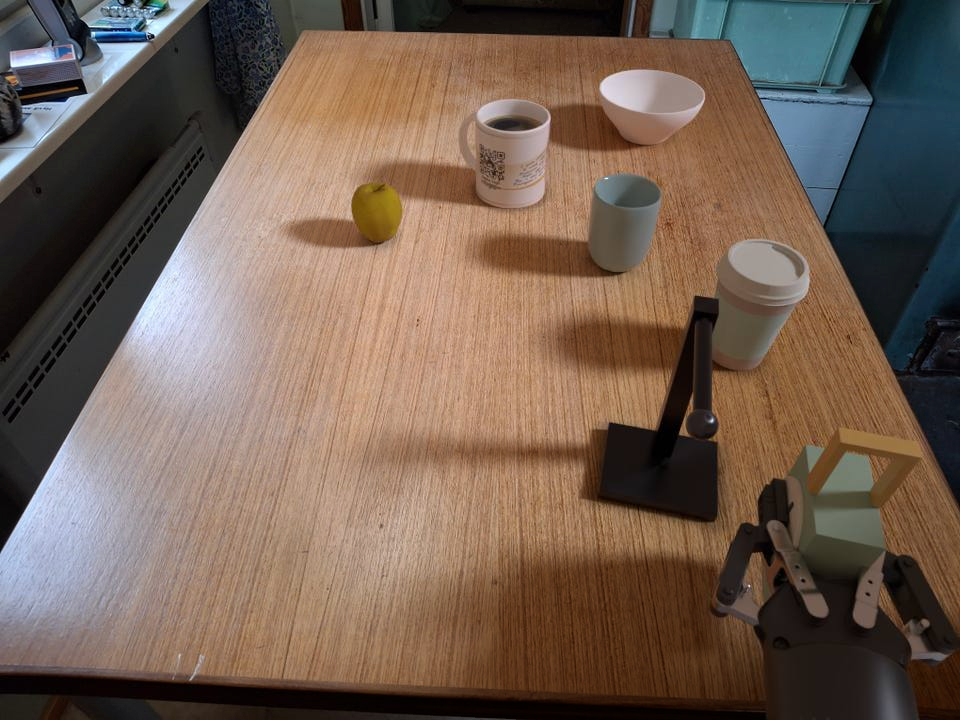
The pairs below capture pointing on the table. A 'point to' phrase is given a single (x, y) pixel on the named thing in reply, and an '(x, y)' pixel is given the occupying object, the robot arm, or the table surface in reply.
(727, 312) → the coffee cup
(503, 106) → the mug
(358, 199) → the apple
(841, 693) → the robot arm
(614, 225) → the cup
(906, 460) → the green box with handle
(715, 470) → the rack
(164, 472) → the table surface
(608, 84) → the bowl
